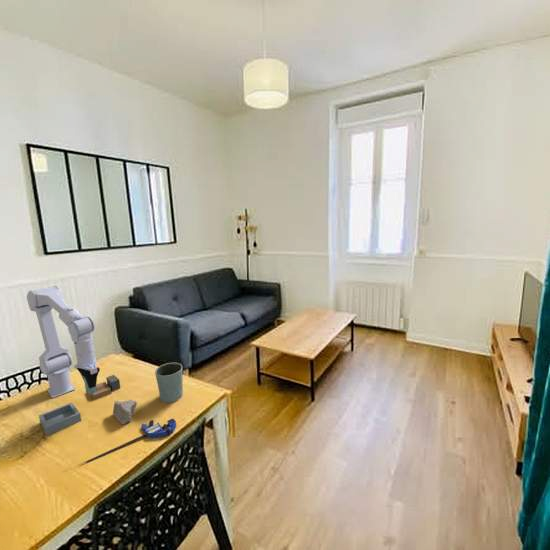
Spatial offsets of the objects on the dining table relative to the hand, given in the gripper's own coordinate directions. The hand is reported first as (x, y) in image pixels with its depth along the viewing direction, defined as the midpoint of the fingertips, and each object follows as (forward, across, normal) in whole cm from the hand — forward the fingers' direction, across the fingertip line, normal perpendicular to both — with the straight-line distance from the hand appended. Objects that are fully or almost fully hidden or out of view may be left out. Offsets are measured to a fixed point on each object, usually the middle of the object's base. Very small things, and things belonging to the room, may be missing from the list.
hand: (90, 385), depth 113 cm
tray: (+9, 0, -11) cm, 14 cm away
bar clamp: (+10, +28, 0) cm, 30 cm away
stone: (+10, +14, +6) cm, 18 cm away
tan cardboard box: (+10, -9, +5) cm, 15 cm away
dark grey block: (+9, -9, +10) cm, 17 cm away
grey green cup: (+10, +16, +23) cm, 30 cm away
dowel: (+2, 0, 0) cm, 2 cm away
